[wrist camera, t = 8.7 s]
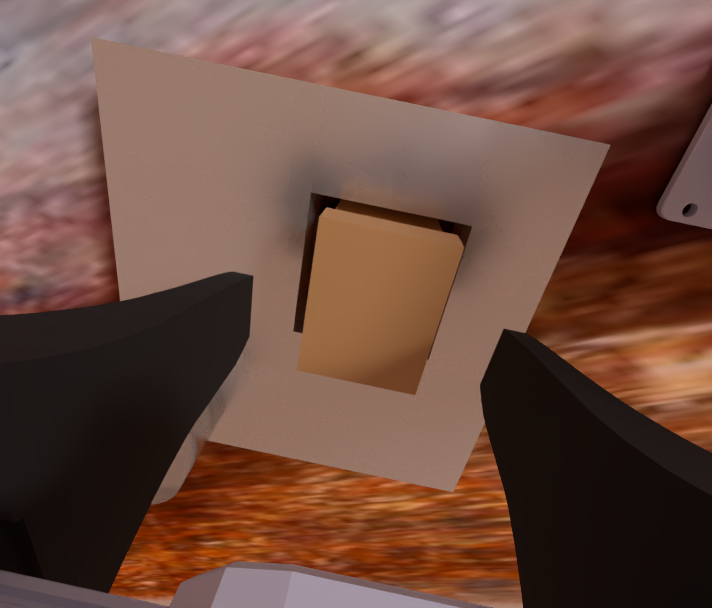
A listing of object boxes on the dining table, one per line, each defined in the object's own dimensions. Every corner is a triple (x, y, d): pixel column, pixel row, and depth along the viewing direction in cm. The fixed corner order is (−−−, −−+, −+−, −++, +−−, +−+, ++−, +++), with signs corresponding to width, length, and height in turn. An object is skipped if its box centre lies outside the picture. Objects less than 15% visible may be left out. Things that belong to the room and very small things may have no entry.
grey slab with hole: (570, 139, 14) (708, 157, 8) (446, 444, 21) (466, 581, 15) (148, 52, 14) (-47, 1, 8) (167, 386, 21) (72, 497, 15)
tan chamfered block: (440, 202, 16) (464, 247, 10) (409, 312, 18) (415, 395, 13) (345, 182, 16) (319, 216, 10) (326, 294, 18) (297, 370, 13)
